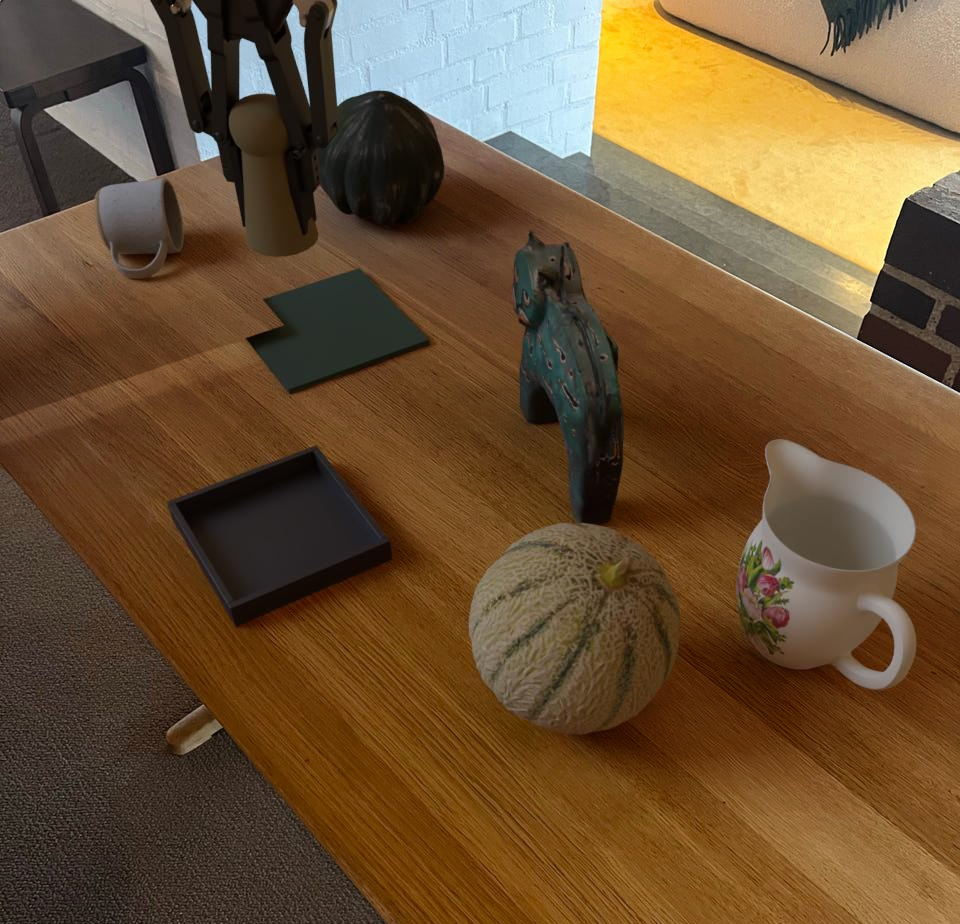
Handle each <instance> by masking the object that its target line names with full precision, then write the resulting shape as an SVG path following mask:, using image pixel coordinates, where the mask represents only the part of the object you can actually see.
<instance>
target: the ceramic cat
mask: <svg viewBox="0 0 960 924" xmlns="http://www.w3.org/2000/svg"><path fill="white" fill-rule="evenodd" d="M528 232H529V233H528V234H527V236H528V238H527V239H528V240H527V242H526V244H525V246H523V247H522V248H520V249H518V250H517V251H516V253H515V256H514V261H513V276H512V277H513V279H512V280H513V282H512V287H511V301H512V306H513V307H512V308H513V311H514V313H515V314H516V315H517V317H518V323H519V324H520V325H522V326H523V327H524V328H525V329H524V333H523V340H522V346H521V358H520V364H519V371H518V373H519V408H520V410H521V412H522V415H523V416H524V418H525V421H526V422H527V423H529V424H535V425H538V424H547V423H551V422H555V421H558V422H559V426H560V430H561V433H562V438H563V443H564V448H565V452H566V453H565V454H566V456H567V463H568V483H569V485H568V487H569V502H570V510H571V514H572V516H573V518H574V520H575V521H576V523H586V524H594V525H596V524H599V523H608V522H611V519H612V517H613V516H612V515H613V512H614V511H613V510H614V507H615V503H616V501H617V497H618V492H619V486H620V482H621V476H622V471H623V465H624V433H625V432H624V431H625V430H624V427H625V425H624V410H623V403H622V396H621V395H622V394H621V390H620V389H621V386H620V382H619V379H618V378H619V377H618V375H619V358H620V357H619V347H618V345H617V344H618V343H616V342H615V340H614V339H613V337H612V336H611V335H610V334H609V333H608V331H607V330H606V328H605V326H603V324H602V321H601V319H600V317H599V315H598V314H597V312H596V311H595V309H594V308H593V306H592V305H591V304H590V303H589V301H588V299H587V296H586V293H585V290H584V287H583V281H582V276H581V269H580V265H579V261H578V258H577V255H576V252H575V251H574V250H573V248H572V247H571V245H570V243H569V242H567V241H563V242H562V244H558V243H557V244H556V243H554V244H553V243H551V244H545V243H544V242H543V241H542V240H541V239H539V237H538V236H537V235H536V234H535V232H534V230H531V229H528Z"/></svg>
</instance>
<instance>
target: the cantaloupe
mask: <svg viewBox="0 0 960 924" xmlns="http://www.w3.org/2000/svg"><path fill="white" fill-rule="evenodd" d="M678 601H679V600H678V596H677V593H676V590H675V589H674V587H673V585H672V583H671V581H670V579H669V578H668V576H667V574H666V572H665V571H664V569H663V567H662V565H661V564H660V562H659V561H658V560H657V559H656V557H655V556H654V555H653V554H652V553H650V552H649V551H648V550H647V548H645V547H644V546H642V545H641V544H640V543H638V542H635V541H633V540H631V539H629V538H628V537H626V536H624V535H623V534H622V533H620V532H618V531H616V530H614V529H612V528H611V527H607V526H602V525H598V524H586V523H578V522H575V523H572V522H559V523H555V524H551V525H549V526H543V527H540V528H539V529H535V530H534V531H532V532H530V533H527V534H525V535H524V536H522V537H521V538H519V539H518V540H517V541H514V542H513V543H511V544H510V546H508V548H507V549H506V550H505V551H504V552H503V553H502V554H501V555H500V556H499V558H497V559H496V560H495V562H493V564H491V566H489V568H488V569H487V570H486V572H485V573H484V575H483V576H482V577H481V579H480V580H479V582H478V584H477V586H476V588H475V589H474V593H473V597H472V600H471V603H470V608H469V616H468V630H469V631H468V636H469V638H470V641H471V651H472V657H473V659H474V662H475V665H476V669H477V671H478V673H479V675H480V677H481V679H482V681H483V683H484V684H485V685H486V686H487V687H488V688H489V689H490V691H492V692H493V693H494V695H495V697H496V699H497V700H498V702H499V703H501V705H503V706H504V708H505V709H506V710H507V711H508V712H511V713H512V714H514V715H515V716H517V717H518V718H521V719H523V720H525V721H528V722H530V723H531V724H532V725H535V726H537V727H539V728H541V729H544V730H546V731H550V732H554V733H558V734H563V735H578V736H579V735H586V734H590V733H593V732H599V731H607V730H610V729H613V728H615V727H618V726H619V725H620V724H622V723H625V722H627V721H629V720H630V719H631V718H634V717H637V716H638V715H639V713H640V712H641V711H643V710H644V708H646V707H647V705H649V703H651V701H652V700H653V698H654V697H655V696H656V695H657V693H658V692H659V690H660V689H661V688H662V686H663V685H664V684H665V682H666V681H667V679H668V678H669V676H670V674H671V672H672V671H673V668H674V664H675V661H676V659H677V657H678V652H679V646H680V645H679V644H680V641H681V639H680V637H681V636H680V632H681V631H680V630H681V629H680V620H681V613H680V612H681V611H680V605H679V602H678Z"/></svg>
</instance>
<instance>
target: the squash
mask: <svg viewBox="0 0 960 924" xmlns="http://www.w3.org/2000/svg"><path fill="white" fill-rule="evenodd" d="M337 108H338V121H339V131H338V133H337V134H336V135H335V137H334V138H333V139H332V141H331V142H330V143H329V145H328V146H327V147H326V148H324V149H321V148H318V157H319V164H320V172H321V182H320V185H319V186H320V188H321V189H322V190H323V192H324V193H325V194H326V195H327V196H328V198H329V199H330V200H331V202H332V204H333V205H334V207H335V208H336V209H337V210H338V211H339V212H341V213H343V214H344V215H349V216H350V215H354V216H355V217H357V218H358V219H360V220H369V219H370V218H372V219H373V221H374V222H375V223H376V224H378V225H379V226H382V227H385V228H389V227H391V226H393V225H394V224H396V222H397V221H400V222H403V223H404V222H407V223H408V222H411V221H413V220H415V219H416V218H417V217H418V216H419V214H420V213H421V212H422V211H423V209H424V208H425V207H426V206H428V205H429V204H430V203H431V202H432V200H434V198H435V197H436V195H437V194H438V192H439V190H440V188H441V186H442V184H443V180H444V178H445V177H444V176H445V161H444V155H443V151H442V147H441V144H440V142H439V139H438V135H437V131H436V128H435V126H434V124H433V122H432V120H431V119H430V117H429V116H428V115H427V114H426V113H425V112H424V111H423V109H421V108H420V107H419V106H418V105H417V104H415V103H413V102H412V101H410V100H409V99H407V98H406V97H403V96H401V95H399V94H397V93H395V92H392V91H390V90H380V89H378V90H371V91H367V92H365V93H361V94H359V95H355V96H350V97H347V98H346V99H344V100H343V101H341V102H340V103H339V104H337Z"/></svg>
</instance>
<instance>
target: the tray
mask: <svg viewBox="0 0 960 924" xmlns="http://www.w3.org/2000/svg"><path fill="white" fill-rule="evenodd" d="M166 504H167V507H168V511H169V514H170V516H171V519H172V522H173V524H174V525H175V527H176V529H177V530H178V532H179V534H180V535H181V537H182V539H183V540H184V542H185V543H186V546H187V547H188V549H189V551H190V552H191V554H192V556H193V557H194V559H195V561H196V562H197V565H198V566H199V567H200V569H201V571H202V573H203V574H204V576H205V578H206V580H207V581H208V583H209V584H210V586H211V588H212V590H213V591H214V593H215V595H216V597H217V598H218V600H219V601H220V603H221V605H222V606H223V609H224V610H225V611H226V613H227V616H229V618H230V620H231V622H232V623H233V625H234V626H235V628H238V627H240V626H242V625H244V624H247V623H250V622H251V621H254V620H256V619H258V618H261V617H264V616H265V615H267V614H270V613H272V612H275V611H277V610H279V609H282V608H284V607H286V606H289V605H290V604H293V603H295V602H298V601H300V600H302V599H304V598H307V597H310V596H311V595H313V594H316V593H318V592H319V593H320V592H321V591H323V590H325V589H328V588H330V587H332V586H334V585H337V584H340V583H342V582H344V581H346V580H348V579H351V578H353V577H356V576H358V575H360V574H363V573H364V572H367V571H369V570H372V569H374V568H376V567H378V566H381V565H384V564H385V563H388V562H390V561H392V560H393V553H392V545H391V544H392V543H391V540H390V538H389V537H388V536H387V534H386V533H385V532H384V531H383V529H382V528H381V527H380V525H379V524H378V523H377V521H376V520H375V519H374V518H373V517H372V515H371V513H370V512H369V511H368V510H367V509H366V507H365V506H364V505H363V504H362V502H361V501H360V499H359V498H358V497H357V496H356V495H355V493H354V492H353V490H352V489H351V488H350V487H349V485H348V484H347V483H346V482H345V480H344V479H343V478H342V476H341V475H340V473H339V472H338V471H337V470H336V468H335V467H334V466H333V465H332V463H331V462H330V461H329V459H328V458H327V457H326V455H325V454H324V453H323V452H322V450H321V449H320V448H319V446H318V445H317V444H315V445H312V446H310V447H308V448H305V449H303V450H299V451H297V452H294V453H292V454H289V455H287V456H285V457H281V458H278V459H276V460H273V461H271V462H268V463H266V464H263V465H260V466H257V467H254V468H252V469H250V470H247V471H244V472H242V473H239V474H237V475H234V476H230V477H228V478H226V479H223V480H221V481H218V482H215V483H213V484H210V485H207V486H204V487H202V488H199V489H196V490H194V491H192V492H189V493H186V494H184V495H181V496H178V497H175V498H173V499H170V500H168V501H166Z"/></svg>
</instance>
